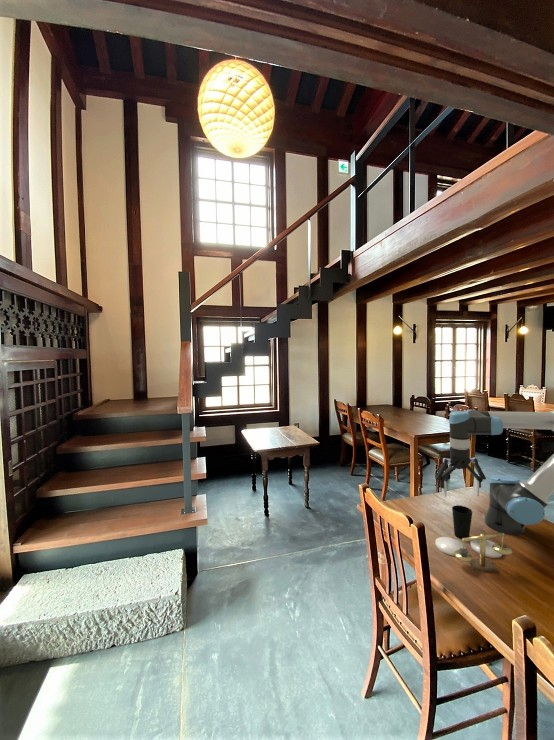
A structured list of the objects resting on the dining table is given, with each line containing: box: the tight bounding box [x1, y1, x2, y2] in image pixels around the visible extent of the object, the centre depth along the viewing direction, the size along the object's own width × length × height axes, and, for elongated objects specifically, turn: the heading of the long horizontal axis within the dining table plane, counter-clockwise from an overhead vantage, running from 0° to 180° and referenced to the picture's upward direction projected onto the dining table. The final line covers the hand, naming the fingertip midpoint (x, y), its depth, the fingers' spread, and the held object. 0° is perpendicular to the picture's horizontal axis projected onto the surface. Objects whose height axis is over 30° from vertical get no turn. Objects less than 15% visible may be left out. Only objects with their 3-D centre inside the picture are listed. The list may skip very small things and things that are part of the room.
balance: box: [454, 532, 513, 573], centre depth 119 cm, size 20×6×14 cm, turn 83°
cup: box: [451, 505, 473, 540], centre depth 138 cm, size 8×8×12 cm
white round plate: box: [470, 539, 503, 559], centre depth 129 cm, size 11×11×1 cm
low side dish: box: [435, 536, 467, 557], centre depth 131 cm, size 11×11×1 cm
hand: (460, 495), depth 137 cm, fingers open, 13 cm apart
